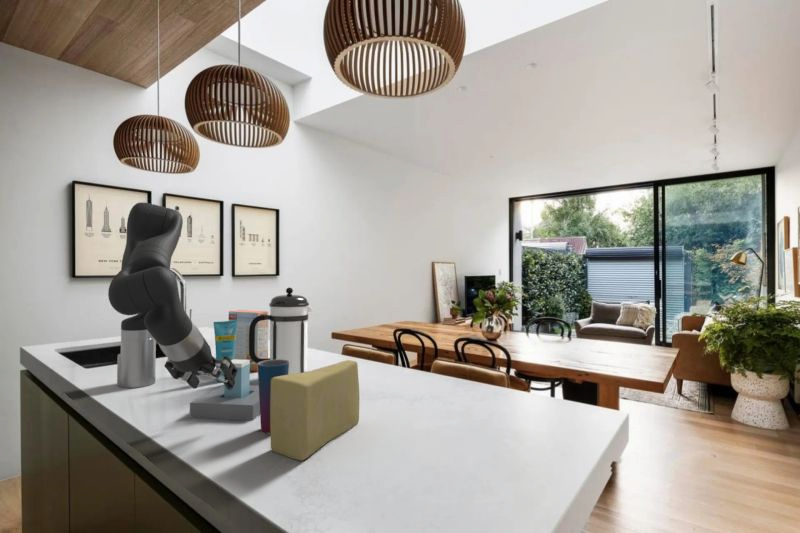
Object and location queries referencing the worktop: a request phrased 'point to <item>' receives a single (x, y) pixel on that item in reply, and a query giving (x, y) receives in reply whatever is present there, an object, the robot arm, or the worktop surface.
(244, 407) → the socket
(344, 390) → the cheese
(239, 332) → the cracker box
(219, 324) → the tube
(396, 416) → the worktop surface
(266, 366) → the cup
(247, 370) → the white-topped blue pillar
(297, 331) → the coffee press
